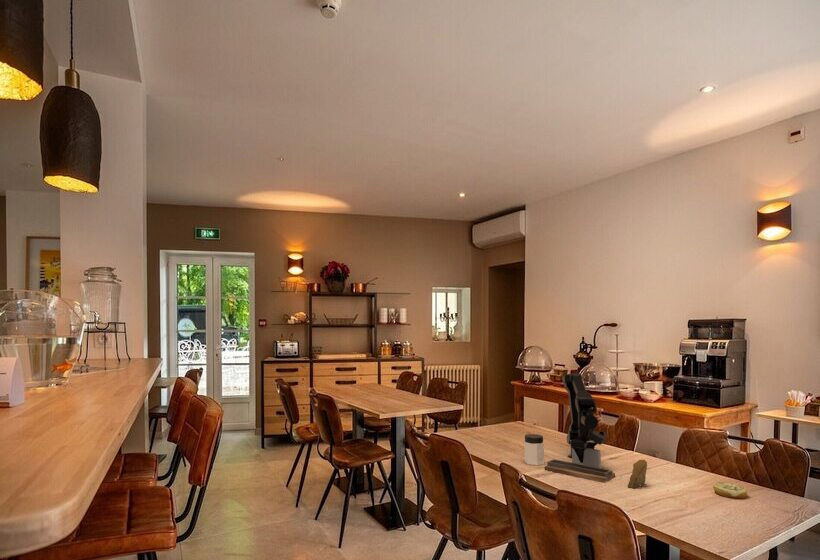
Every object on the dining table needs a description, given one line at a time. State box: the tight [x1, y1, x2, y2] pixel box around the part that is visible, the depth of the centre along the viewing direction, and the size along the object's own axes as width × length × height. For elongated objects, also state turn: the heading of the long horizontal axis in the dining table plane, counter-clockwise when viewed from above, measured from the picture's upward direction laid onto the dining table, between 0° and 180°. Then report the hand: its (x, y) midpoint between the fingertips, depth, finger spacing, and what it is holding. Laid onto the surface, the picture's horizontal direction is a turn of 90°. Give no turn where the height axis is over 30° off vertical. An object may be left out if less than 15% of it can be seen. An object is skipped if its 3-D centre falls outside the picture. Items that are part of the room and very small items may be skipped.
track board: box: [544, 458, 616, 483], centre depth 219 cm, size 11×26×3 cm, turn 48°
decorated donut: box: [712, 481, 748, 500], centre depth 193 cm, size 10×11×4 cm
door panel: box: [571, 448, 602, 468], centre depth 230 cm, size 2×12×8 cm, turn 48°
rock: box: [627, 459, 648, 489], centre depth 204 cm, size 11×9×10 cm
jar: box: [523, 433, 545, 466], centre depth 236 cm, size 9×8×12 cm
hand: (586, 460), depth 230 cm, fingers open, 9 cm apart
